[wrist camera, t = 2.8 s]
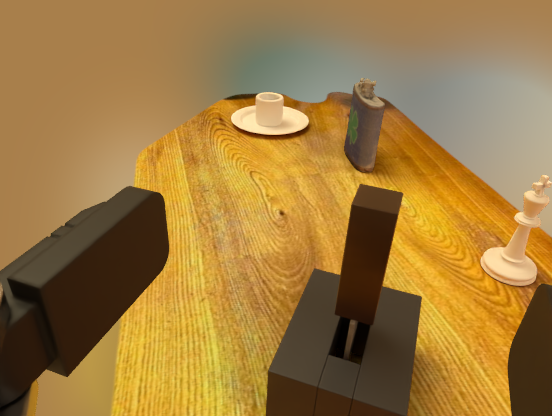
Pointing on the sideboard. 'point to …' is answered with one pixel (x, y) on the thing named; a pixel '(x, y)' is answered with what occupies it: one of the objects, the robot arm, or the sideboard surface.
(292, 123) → the candle holder
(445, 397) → the sideboard surface
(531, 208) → the chess piece
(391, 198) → the knife
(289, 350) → the knife block
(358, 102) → the flask
